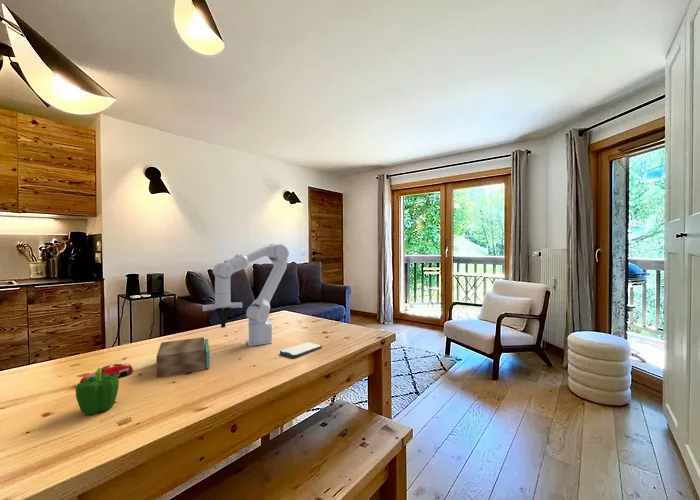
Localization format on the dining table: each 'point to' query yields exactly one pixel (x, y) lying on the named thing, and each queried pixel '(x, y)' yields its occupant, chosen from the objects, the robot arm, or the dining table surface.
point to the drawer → (207, 354)
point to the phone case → (300, 350)
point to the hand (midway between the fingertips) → (223, 327)
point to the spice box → (181, 357)
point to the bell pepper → (97, 393)
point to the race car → (112, 371)
